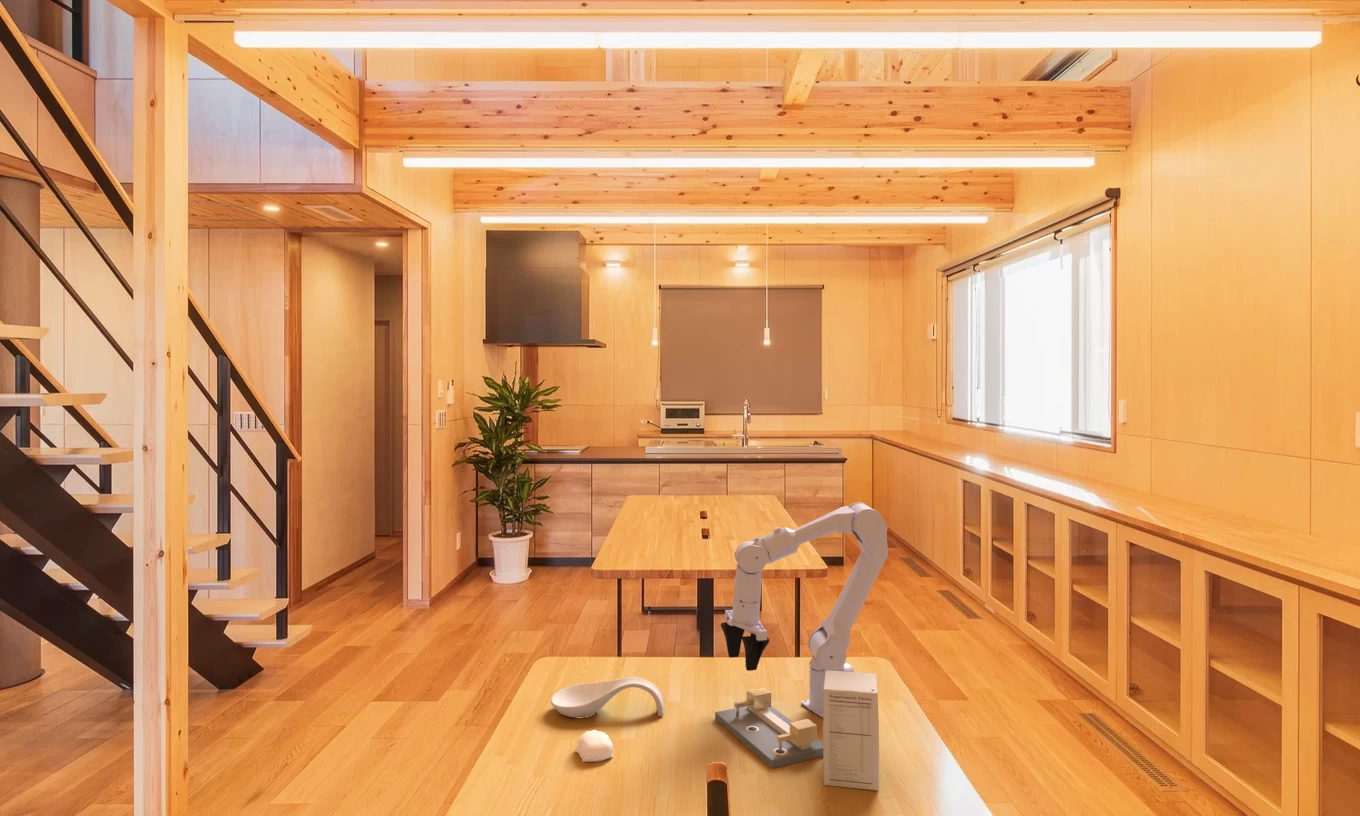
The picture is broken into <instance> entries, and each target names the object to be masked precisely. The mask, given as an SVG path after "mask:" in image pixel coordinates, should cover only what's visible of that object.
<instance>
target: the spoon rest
mask: <svg viewBox="0 0 1360 816" xmlns="http://www.w3.org/2000/svg"><path fill="white" fill-rule="evenodd" d="M630 688H638V689H640V690H641V689H642V690H644V691H646V692H647V693H648V694H650V696H651V697H652V698H653V699H654V702H655V706H656V710H657V711H656V712H657V715H658V717H661V718H662V717H663V716H664V712H665V701H664V697H663V694H662V692H661V690H660V689H659V687H658V686H656V685H655V684H654V683H653V682H651V681H649V680H647V679H644V678H641V677H637V676H627V677H621V678H620V677H619V678H617V679H611V680H607V681H598V682H590V683H589V682H588V683H579V684H574V685H570V686H567V687H564V688H561V689H560V690H558V691H556V692H555V693H554V694H553V695H552V696H551V699H550V703H551V705H552V707H553V708H554V709H555V710H556V712H557V713H560V714H561V715H562V716H566V717H570V718H572V717H575V718H574V719H578V718H577V717H586V716H591V715H593V714H594V715H596V714H595V713H597V712H598V711H600V710H601V709H602V708H603V707H604V706H605V705H607V703H608V702H609V701H610V700H611V699H613V698H614V696H616V695H617V694H618V693H620V692H621V691H624V690H625V689H630ZM594 715H593V716H594ZM591 717H592V716H591Z"/></svg>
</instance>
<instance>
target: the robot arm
mask: <svg viewBox="0 0 1360 816" xmlns="http://www.w3.org/2000/svg"><path fill="white" fill-rule="evenodd" d="M888 528H889V527H888V525H887V523H886V521H885V519H884V517H883V515H882V514H881V513H880V511H878V510H876V509H873V508H871V507H870V506H868V504H866V503H864V502H860V501H859V502H853V503H851V504H849V505H846V506H845V505H844V506H841V507H839V508H837V509H835V510H833V511H831V512H829V513H826V514H824V515H822V516H820V517H818V518H816V519H814V520H812V521H809V522H808V523H805V524H803V525H801V526H799V527H796V528H795V529H791V528H790V527H786V526H784V527H782V528H781V527H780V526H777V527H774V528H773V530H774V531H772V532H770V533H768V534H765V535H763V536H760V537H758V536H755V537H753V541H750V540H745V541H743V542H741V543H740V544H739V545H738V546H737V547H736V550H735V552H734V558H735V560H736V568H735V576H734V583H733V597H732V598H733V600H732V609H725V610H724V620H726V622H721V623H720V628H721V630H722V631H723V634H724V638H725V642H726V643H725V644H726V649H727V655H728V658H730V659H731V658H739V655H740V652H741V647H742V643H743V647H744V652H745V655H744V656H745V657H744V659H745V661H744V662H745V669H746V671H748V672H750V671H756V670H757V669H758V666H759V663H760V659H761V657H762V654H763V653H764V650H765V649H766V647H767V646H768V645H769V643H770V638H769V637H768V630H767V629H765V628H764V626H763V624H762V623H761V621H760V613H761V612H760V611H761V597H762V585H763V583H762V582H763V579H762V574H763V573H762V572H763V570H764V568H765V567H766V564H768V565H770V564H771V563H774V562H777V561H780V560H781V559H783V558H786V557H789V556H791V555H793V554H795V553H797V552H798V549H799V547H800V545H802V544H805V543H807V542H810V541H813V540H816V539H818V538H819V539H820V538H822V537H824V536H827V535H829V534H831V533H841V534H846V535H854V537H855V538H856V541H857V544H858V546H859V549H860V554H859V556H857V559H856V561H855V563H854V565H853V567H852V570H851V572H850V573H849V575H848V577H847V579H846V582H845V583H844V585H843V587H842V589H841V591H840V594H839V595H838V597H837V599H836V600H835V604H833V607H832V608H831V611H830V613H829V615H828V616H827V617H826V618H824V619H823V620H822V621H821V623H820V625H819V626H818V627H817V629H816V630H814V631H812V632H811V634H810V636H809V637H808V642H807V643H808V644H807V645H808V648H809V651H810V652H811V654H812V658H811V660H810V661H809V671H808V672H809V673H808V675H809V681H808V682H809V683H808V684H809V691H808V692H809V693H808V694H809V698H808V699H806V700H805V699H804V700H801V702H800V704H801V705H802V706H804V707H805V708H807V709H808V710H810V711H811V712H813V713H814V714H816V715H817V716H819V717H820V718H823V689H824V681H825V672H826V670H829V671H844V672H855V670H854V668H853V667H852V666H851V664H849V663H848V662H846V660H847V652H848V651H847V650H848V647H849V645H850V641H851V630H852V629H853V626H854V624H855V622H856V620H857V618H858V616H859V614H860V612H861V610H862V608H863V607H864V604H865V602H866V600H867V598H868V596H869V594H870V592H871V590H872V589H873V586H874V585H875V583H876V581H877V578H878V577H879V574H880V572H881V570H882V569H883V567H884V564H885V562H886V560H887V559H888V556H889V549H888V547H889V546H888V534H887V532H888ZM745 632H747V633H748V634H750V635H746V636H744V633H745Z"/></svg>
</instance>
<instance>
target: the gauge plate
mask: <svg viewBox="0 0 1360 816" xmlns="http://www.w3.org/2000/svg"><path fill="white" fill-rule="evenodd" d="M714 718H715V720H716V722H717V723H719V724H720V725H721V726H722V727H723V728H724V729H725V730H727V731H728V732H729V733H730V734H731V735H733V737H734V738H736V739H737V740H738V741H740V742H741V743H742V745H744V746H745V747H746V748H747V749H749V751H751V752H752V753H753V754H754V755H756V756H757V758H759V759H760V760H761V761H762V762H763V763H765V764H766V765H767V766H768V767H769V768H771V769H776V768H780V767H784V766H788V765H792V764H795V763H800V762H804V761H808V760H812V759H816V758H820V757H823V742H821V741H820V740H819V739H818V725H817V724H816V723H815V722H813V721H812V720H810V719H809V718H805V719H801V720H796V721H793V720H791V719H790V718H789V717H787V716H786V715H784V714H783V713H781V712H780V711H779V710H778V709H776V708H775V707H773V705H771V707H769V708H764V709H759V710H755V711H754V710H753V709H751V708H750V707H749V706H745V707H740V708H739V717H736V708H735V707H734V708H728V709H725V710H720V711H715V712H714Z"/></svg>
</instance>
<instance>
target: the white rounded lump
mask: <svg viewBox="0 0 1360 816" xmlns="http://www.w3.org/2000/svg"><path fill="white" fill-rule="evenodd" d="M574 752H575V753H577V754H578V755H579V757H580V759H581V761H582V762H583V763H589V762H591V763H596V762H602V761H605V760H608V759H611V758H613V756H614V754H613V752H614V745H613V742H612V740H611V739H610V737H609V735H608V734H607V733H605V732H603V731H599V730H596V729H593V730H585V731H584V733H582V734H581V735H580V736H579V738H578V739H577V747H575V749H574Z"/></svg>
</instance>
